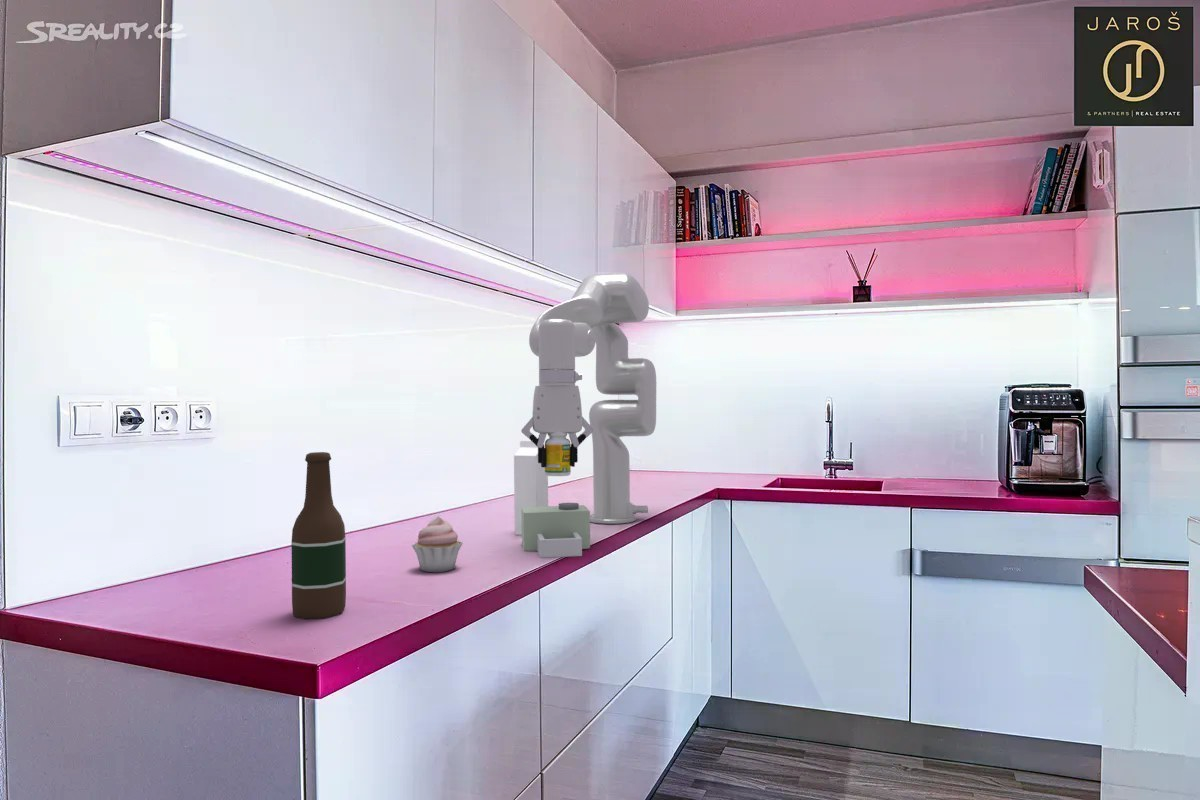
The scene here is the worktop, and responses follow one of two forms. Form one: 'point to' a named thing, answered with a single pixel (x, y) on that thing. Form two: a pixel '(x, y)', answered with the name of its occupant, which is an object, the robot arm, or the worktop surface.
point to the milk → (528, 482)
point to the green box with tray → (556, 530)
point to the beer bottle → (318, 547)
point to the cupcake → (437, 546)
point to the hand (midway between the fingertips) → (557, 465)
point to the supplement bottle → (558, 455)
